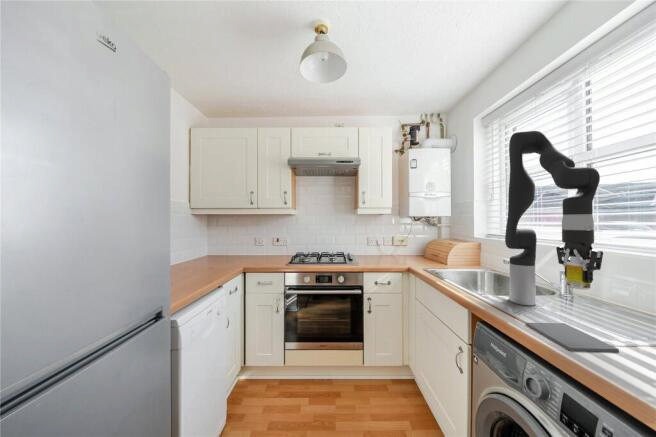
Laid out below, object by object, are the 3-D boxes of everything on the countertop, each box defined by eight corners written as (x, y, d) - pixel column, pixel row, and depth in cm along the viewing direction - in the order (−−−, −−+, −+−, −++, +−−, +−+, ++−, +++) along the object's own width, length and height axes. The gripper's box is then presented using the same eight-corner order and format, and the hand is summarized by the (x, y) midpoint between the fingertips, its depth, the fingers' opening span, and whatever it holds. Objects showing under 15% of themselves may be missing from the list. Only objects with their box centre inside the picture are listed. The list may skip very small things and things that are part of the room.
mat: (525, 324, 91) (525, 322, 91) (564, 325, 90) (564, 323, 90) (570, 350, 73) (570, 348, 73) (618, 351, 72) (618, 349, 72)
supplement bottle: (588, 291, 79) (587, 258, 79) (564, 287, 84) (564, 256, 84) (592, 288, 82) (592, 256, 83) (569, 284, 87) (568, 254, 87)
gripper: (547, 228, 91) (548, 275, 90) (586, 229, 76) (587, 285, 76) (569, 227, 90) (570, 275, 90) (613, 229, 76) (614, 286, 76)
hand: (578, 280), depth 83 cm, fingers closed on supplement bottle, 5 cm apart
